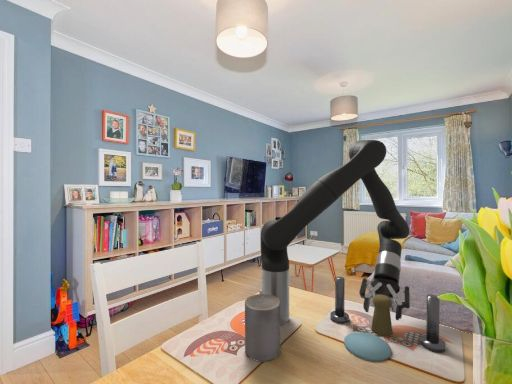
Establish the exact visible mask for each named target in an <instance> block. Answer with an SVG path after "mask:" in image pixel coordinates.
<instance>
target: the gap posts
mask: <svg viewBox="0 0 512 384" xmlns="http://www.w3.org/2000/svg"><path fill="white" fill-rule="evenodd" d="M345 280H346V279H345V277H343V276H335V277H334V285H335V287H334V294H335V295H334V310H333V311H331V312H330V320H331V321H332V322H334V323H335V322H336V323H335V324H339V323H340V324H339V325H345V323H346V324H348V323H350V314H349V313H347V312H345V295H346V294H345V293H346V292H345V288H346V287H345ZM437 296H438V295H436V294H430V293H429V294H426V320H425V321H426V322H425V323H426V324H425V325H426V326H425V327H426V330H425V331H426V334H422V335H420V336H419V344H420V345H421V347H422V346H423V347H422V348H423V349H425V350H428V351H430V352H433V353H439V354H442V353H445V352H446V351H447V350H446V349H447V344H446V342H445V340H444V339H442V338H440V314H441V313H440V312H441V311H440V305H441V303H440V302H441V301H440V299H441V298H440V299H438V298H437Z"/></svg>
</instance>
